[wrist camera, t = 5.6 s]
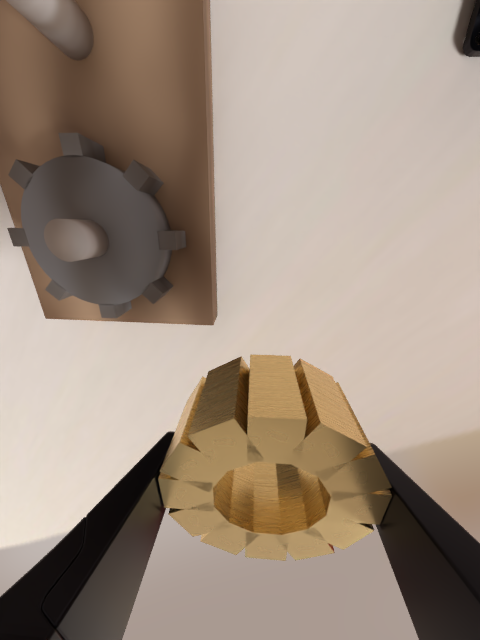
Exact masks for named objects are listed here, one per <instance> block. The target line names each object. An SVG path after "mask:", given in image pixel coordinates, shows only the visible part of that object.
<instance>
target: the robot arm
mask: <svg viewBox="0 0 480 640" xmlns="http://www.w3.org/2000/svg"><path fill="white" fill-rule="evenodd" d="M476 37H479V40H480V0H476V3H475V6H474V10H473V13H472V17H471V20H470V24H469V27H468V31H467V34H466V38H465V41H464V46H463V50H464V53H465V55H466V56H469V57H480V41H479V45H478V44H476V42H475V39H476ZM174 433H175V432H171V431H170V432H167V433H166V434H165V435H164V436H163V437H162V438H161V439H160V440H159V441H158V442H157V443H156V444H155V446H154V447H153V448H152V449H151V450H150V451H149V452H148V453H147V454H146V455H145V456H144V457H143V458H142V459H141V460H140V461H139V462H138V463H137V464H136V465H135V466H134V467H133V468H132V469H131V470H130V471H129V472H128V473H127V474H126V475H125V476H124V477H123V478H122V479H121V480H120V481H119V482H118V483H117V484H116V485H115V486H114V488H113V489H112V490H111V491H110V492H109V493H108V494H107V495H106V496H105V497H104V498H103V499H102V500H101V501H100V502H99V503H98V504H97V505H96V506H95V507H94V508H93V509H92V510H91V511H90V512H89V513H88V514H87V516H86V517H84V518H83V519H82V520H81V521H80V522H79V523H78V524H77V525H76V526H75V527H74V528H73V529H72V530H71V531H70V532H69V533H68V534H67V535H66V536H65V537H64V538H63V539H62V540H61V541H60V542H59V543H58V544H57V545H56V546H55V547H54V548H53V549H52V550H51V551H50V552H49V553H48V554H47V555H46V556H44V557H43V559H41V560H40V561H39V562H38V563H37V564H36V565H35V566H34V567H33V568H32V569H31V570H29V571H28V572H27V573H26V574H25V575H24V576H23V577H22V578H21V579H19V580H18V581H17V582H16V583H15V584H14V585H13V586H12V587H11V588H9V589H8V590H7V591H6V592H5V593H4V594H3V595H2V596H1V597H0V640H122V638H123V635H124V632H125V629H126V626H127V623H128V620H129V617H130V614H131V611H132V608H133V605H134V602H135V599H136V596H137V593H138V590H139V587H140V584H141V581H142V578H143V575H144V572H145V569H146V566H147V563H148V560H149V557H150V554H151V551H152V549H153V546H154V543H155V539H156V537H157V533H158V531H159V528H160V525H161V522H162V519H163V516H164V513H165V510H166V508H164V503H163V499H162V494H161V490H160V485H159V480H158V478H159V475H160V473H161V472H160V469H161V466H162V464H163V461H164V459H165V456H166V454H167V451H168V449H169V446H170V444H171V441H172V438H173V436H174ZM370 445H371V447H372V449H373V451H374V453H375V455H376V457H377V459H378V461H379V463H380V465H381V467H382V469H383V471H384V473H385V475H386V477H387V479H388V481H389V483H390V485H391V487H392V488H389V490H390V492H391V494H392V497H391V499H390V502H389V504H388V506H387V509H386V511H385V514H384V516H383V518H382V521H381V523H380V525H378V524H376V527H377V529H378V532H379V535H380V537H381V540H382V543H383V545H384V548H385V551H386V553H387V555H388V558H389V561H390V564H391V566H392V569H393V572H394V574H395V577H396V580H397V582H398V585H399V588H400V590H401V593H402V596H403V598H404V601H405V604H406V606H407V609H408V612H409V614H410V617H411V619H412V622H413V624H414V627H415V630H416V633H417V635H418V638H419V640H480V543H479V542H478V541H477V540H476V539H474V538H473V537H472V536H471V535H470V534H469V533H468V532H467V531H466V530H465V529H464V528H463V527H462V526H461V525H459V523H458V522H457V521H455V520H454V519H453V518H452V517H451V516H450V515H449V514H448V513H447V512H446V511H445V510H444V509H443V508H442V507H441V506H440V505H438V504H437V503H436V502H435V501H434V500H433V499H432V498H431V497H430V496H429V495H428V494H427V493H426V492H425V491H423V490H422V489H421V488H420V487H419V486H418V485H417V484H416V483H415V482H414V481H413V480H412V479H411V478H410V477H409V476H408V475H406V474H405V473H404V472H403V471H402V470H401V469H400V468H399V467H398V466H397V465H396V464H395V463H394V462H392V460H390V458H388V457H387V456H386V455H385V454H384V453H383V452H382V451H381V450H380V449H379V448H378V447H377V446H376V445H374V444H373V443H370Z"/></svg>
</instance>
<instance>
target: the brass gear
mask: <svg viewBox="0 0 480 640" xmlns="http://www.w3.org/2000/svg"><path fill="white" fill-rule="evenodd" d="M160 472H161V473H160V475H159V478H158V480H159V485H160V490H161V494H162V499H163V503H164V508H170V511H169V515H170V516H171V517H172V518H173V519H174V520H176V521H177V522H178V523H179V524H180V525H181V526H182V527H183V528H184V529H185V530H186V531H188V532H189V533H190V534H191V535H192V536H193V537H194V536H198V535H202V536H201V542H204V543H206V544H209V545H212V546H214V547H217V548H219V549H222V550H225V551H227V552H230V553H232V554H235V555H237V554H238V553H239V552H240V551H241V550H243V549H244V548H245V550H246V551H245V557H249V558H261V559H271V560H282V561H285V560H286V555H287V551H288V552H289V554H290V555H291V556H292V557H293V558H294V559H295V560H300V559H305V558H311V557H316V556H321V555H326V554H332V553H334V548H333V546H336V547H338V548H340V549H345V548H347V547H349V546H350V545H352V544H353V543H355V542H357V541H358V540H360V539H362V538H363V537H365V536H366V535H368V534H369V533H371V532H373V531H374V529H373V526H372V524H378V525H380V523H381V521H382V518H383V516H384V514H385V511H386V509H387V506H388V504H389V502H390V499H391V497H392V494H391V492H390V490H389V488H392V487H391V485H390V483H389V481H388V479H387V477H386V475H385V473H384V471H383V469H382V467H381V465H380V463H379V461H378V459H377V457H376V455H375V453H374V451H373V449H372V447H371V445H370V443H369V441H368V439H367V437H366V435H365V434H364V432H363V430H362V428H361V426H360V424H359V422H358V420H357V418H356V416H355V414H354V412H353V410H352V408H351V406H350V405H349V403H348V401H347V399H346V397H345V395H344V393H343V391H342V389H341V387H340V385H339V383H338V382H337V383H335V381H334V379H333V377H332V376H330V375H329V374H327V373H325V372H323V371H321V370H320V369H318V368H316V367H314V366H312V365H311V364H309V363H307V362H305V361H303V360H302V359H299V360H298V361H297V363H296V364H295V365H294V366H293V363H292V359H291V356H275V355H250V369H249V368H248V366H247V364H246V363H245V361H244V360H243V358H242V357H239V358H237V359H235V360H232V361H230V362H228V363H226V364H224V365H222V366H219V367H217V368H215V369H213V370H211V371H209V372H208V375H207V378H204V377H202V378H201V380H200V382H199V383H198V385H197V386H196V388H195V389H194V391H193V393H192V394H191V396H190V397H189V399H188V401H187V403H186V405H185V408H184V410H183V413H182V416H181V418H180V421H179V423H178V426H177V428H176V431H175V433H174V436H173V438H172V441H171V444H170V446H169V449H168V451H167V454H166V456H165V459H164V461H163V464H162V466H161V469H160Z"/></svg>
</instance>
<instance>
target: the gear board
mask: <svg viewBox="0 0 480 640" xmlns="http://www.w3.org/2000/svg"><path fill="white" fill-rule="evenodd" d="M0 184H1V187H2V190H3V193H4V196H5V199H6V202H7V205H8V208H9V211H10V214H11V217H12V220H13V223H14V226H15V228H8V231H9V234H10V237H11V240H12V243H13V246H21V247H22V250H23V252H24V255H25V258H26V261H27V264H28V267H29V270H30V273H31V276H32V279H33V282H34V285H35V288H36V291H37V294H38V297H39V300H40V303H41V306H42V309H43V312H44V315H45V318H46V319H70V320H95V321H120V322H144V323H169V324H193V325H213V324H214V322H215V320H216V317H217V283H216V240H215V197H214V154H213V112H212V69H211V26H210V0H0Z"/></svg>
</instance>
